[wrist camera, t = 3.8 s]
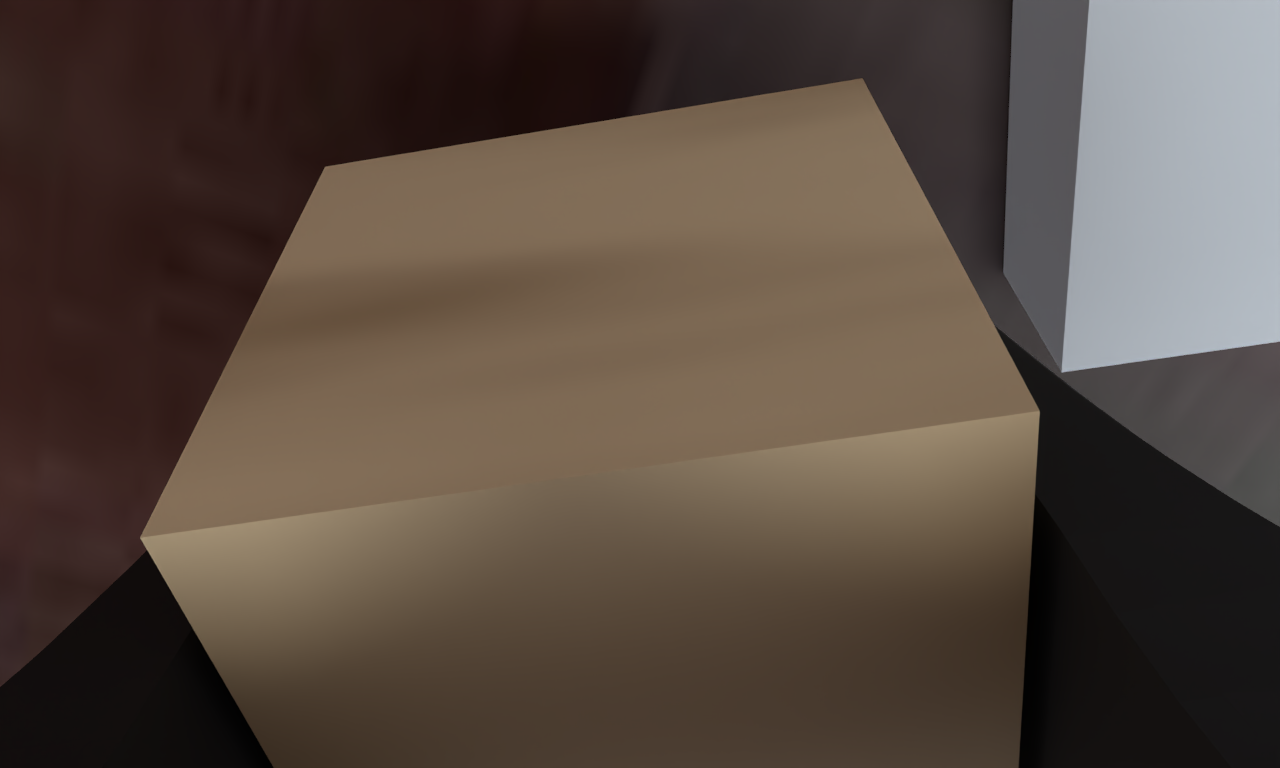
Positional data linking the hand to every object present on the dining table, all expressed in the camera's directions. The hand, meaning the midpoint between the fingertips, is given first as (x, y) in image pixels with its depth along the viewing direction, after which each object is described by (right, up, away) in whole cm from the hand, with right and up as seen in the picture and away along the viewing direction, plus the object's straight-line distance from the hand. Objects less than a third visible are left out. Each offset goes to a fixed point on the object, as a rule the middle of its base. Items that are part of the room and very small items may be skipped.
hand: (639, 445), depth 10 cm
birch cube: (0, +1, +1) cm, 2 cm away
